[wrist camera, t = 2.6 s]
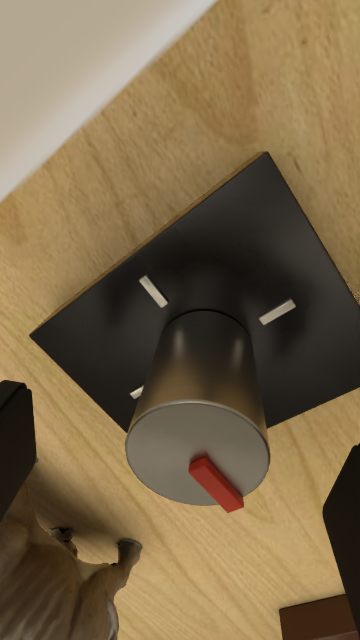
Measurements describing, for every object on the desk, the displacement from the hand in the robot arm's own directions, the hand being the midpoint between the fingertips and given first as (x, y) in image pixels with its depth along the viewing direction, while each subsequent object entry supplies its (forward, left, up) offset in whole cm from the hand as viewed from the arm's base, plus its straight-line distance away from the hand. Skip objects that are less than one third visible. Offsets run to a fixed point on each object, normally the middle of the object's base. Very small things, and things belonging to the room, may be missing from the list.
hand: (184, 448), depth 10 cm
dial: (0, 0, -5) cm, 5 cm away
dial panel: (0, 0, -8) cm, 8 cm away
